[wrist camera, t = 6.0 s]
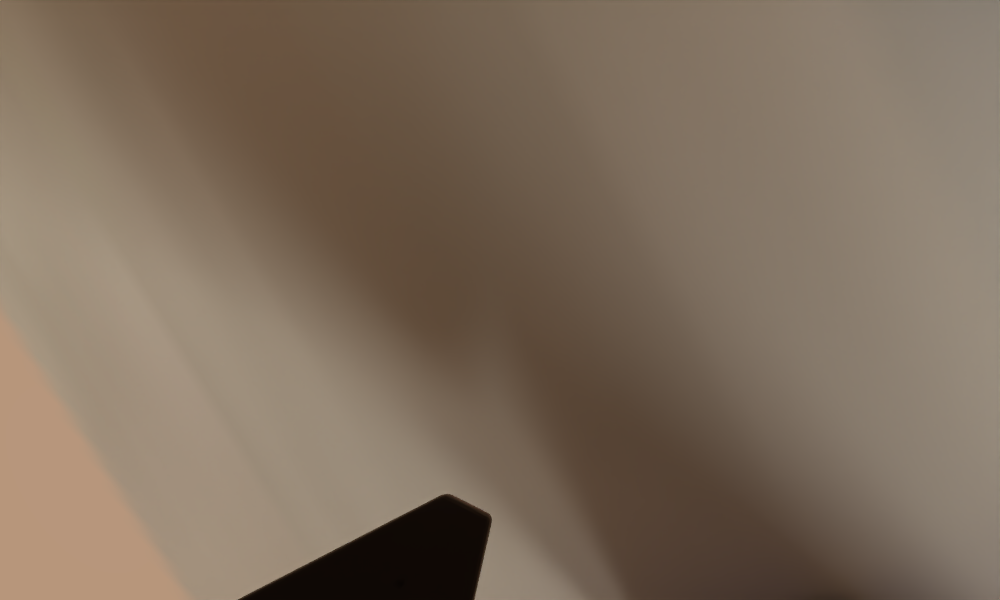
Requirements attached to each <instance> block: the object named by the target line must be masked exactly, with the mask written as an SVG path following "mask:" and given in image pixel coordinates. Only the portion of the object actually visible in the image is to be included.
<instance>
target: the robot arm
mask: <svg viewBox="0 0 1000 600" xmlns="http://www.w3.org/2000/svg"><path fill="white" fill-rule="evenodd" d="M491 523H492V518H491V515H490V514H489V513H487V512H485V511H483V510H481V509H479V508H477V507H475V506H473V505H471V504H469V503H467V502H465V501H463V500H461V499H459V498H457V497H455V496H453V495H450V494H444V495H441V496H439V497H437V498H435V499H433V500H431V501H429V502H427V503H425V504H423V505H421V506H419V507H417V508H415V509H413V510H411V511H409V512H408V513H406V514H404V515H402V516H400V517H398V518H396V519H394V520H392V521H390V522H388V523H386V524H384V525H382V526H380V527H378V528H376V529H374V530H372V531H371V532H369V533H367V534H365V535H363V536H361V537H359V538H357V539H355V540H353V541H351V542H349V543H347V544H345V545H343V546H341V547H339V548H337V549H335V550H333V551H332V552H330V553H328V554H326V555H324V556H322V557H320V558H318V559H316V560H314V561H312V562H310V563H308V564H306V565H304V566H302V567H300V568H298V569H296V570H294V571H293V572H291V573H289V574H287V575H285V576H283V577H281V578H279V579H277V580H275V581H273V582H271V583H269V584H267V585H265V586H263V587H261V588H259V589H257V590H256V591H254V592H252V593H250V594H248V595H246V596H244V597H242V598H240V599H238V600H474V599H475V594H476V590H477V586H478V581H479V577H480V572H481V568H482V563H483V559H484V554H485V550H486V545H487V541H488V537H489V532H490V528H491Z"/></svg>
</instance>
